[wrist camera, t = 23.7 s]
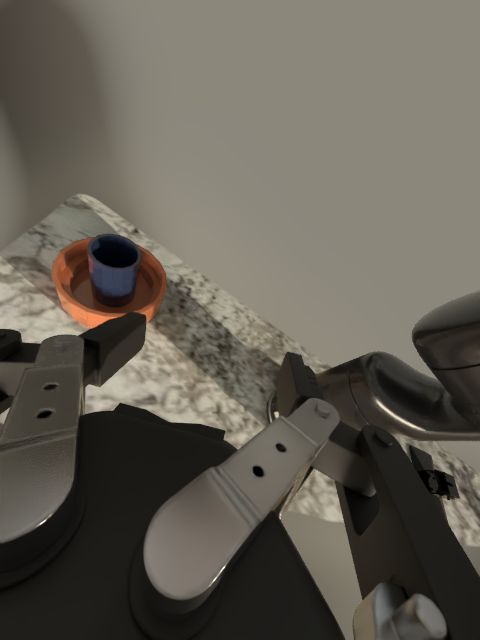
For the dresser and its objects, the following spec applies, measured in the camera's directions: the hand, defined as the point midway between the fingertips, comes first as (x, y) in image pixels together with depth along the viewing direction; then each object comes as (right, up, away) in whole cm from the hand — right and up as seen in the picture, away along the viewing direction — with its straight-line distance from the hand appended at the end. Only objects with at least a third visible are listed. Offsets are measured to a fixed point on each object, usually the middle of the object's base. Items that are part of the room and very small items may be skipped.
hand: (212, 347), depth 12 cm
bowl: (-19, +6, +23) cm, 31 cm away
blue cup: (-18, +6, +23) cm, 30 cm away
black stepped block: (+41, -33, +35) cm, 63 cm away
